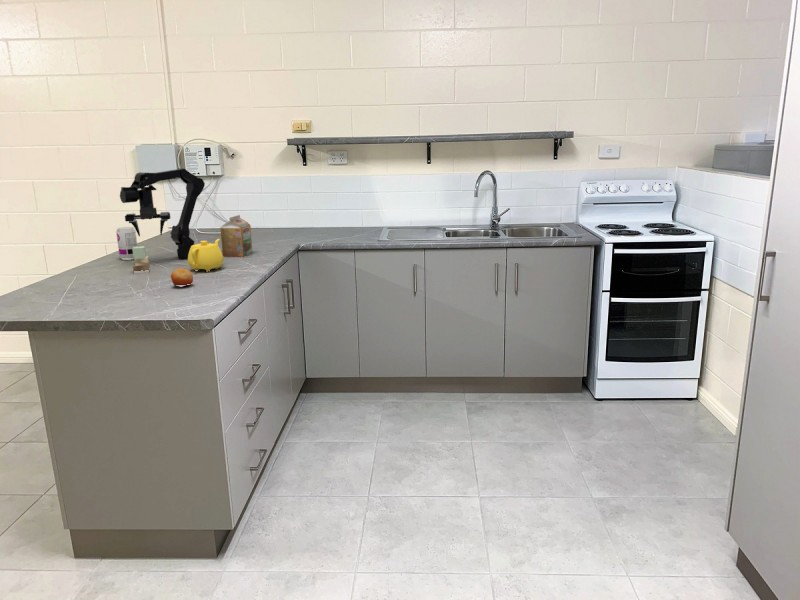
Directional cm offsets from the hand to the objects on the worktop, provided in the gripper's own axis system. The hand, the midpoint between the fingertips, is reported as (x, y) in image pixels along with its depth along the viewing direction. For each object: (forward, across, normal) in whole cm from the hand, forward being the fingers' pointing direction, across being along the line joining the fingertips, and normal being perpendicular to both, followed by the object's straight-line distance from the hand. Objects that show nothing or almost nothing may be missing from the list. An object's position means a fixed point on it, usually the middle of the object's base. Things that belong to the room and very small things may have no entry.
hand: (150, 235), depth 278 cm
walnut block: (+13, -4, -17) cm, 22 cm away
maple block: (+10, -3, -17) cm, 20 cm away
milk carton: (+13, +38, +7) cm, 41 cm away
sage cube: (+7, -4, -17) cm, 19 cm away
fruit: (+13, +14, -52) cm, 55 cm away
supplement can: (+13, -12, +16) cm, 24 cm away
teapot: (+13, +24, -22) cm, 35 cm away
